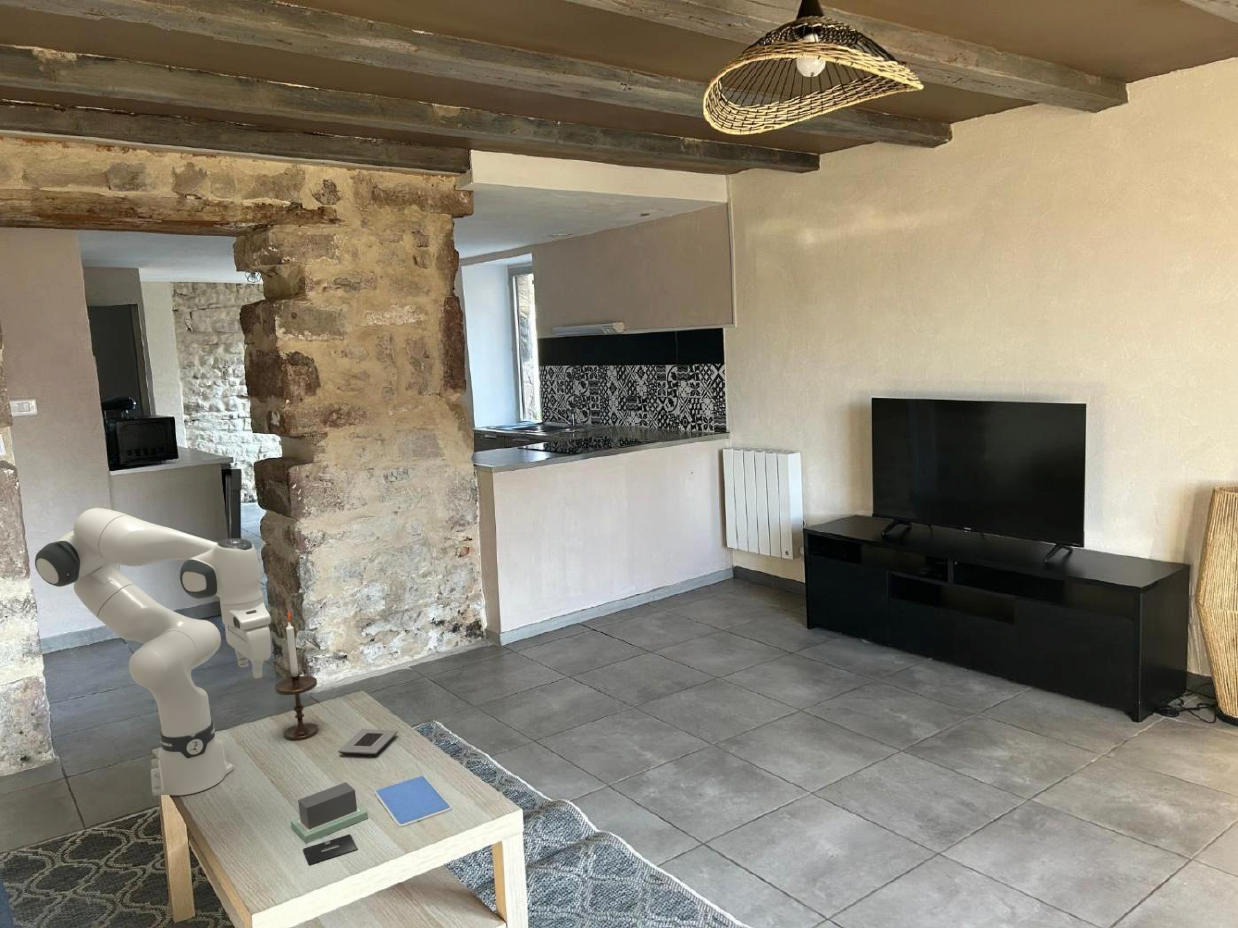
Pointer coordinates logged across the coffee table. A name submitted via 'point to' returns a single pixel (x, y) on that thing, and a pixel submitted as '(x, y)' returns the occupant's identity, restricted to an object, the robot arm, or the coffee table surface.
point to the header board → (328, 825)
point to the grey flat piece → (368, 742)
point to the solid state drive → (329, 849)
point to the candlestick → (296, 692)
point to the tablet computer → (412, 801)
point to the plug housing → (327, 805)
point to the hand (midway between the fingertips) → (250, 671)
